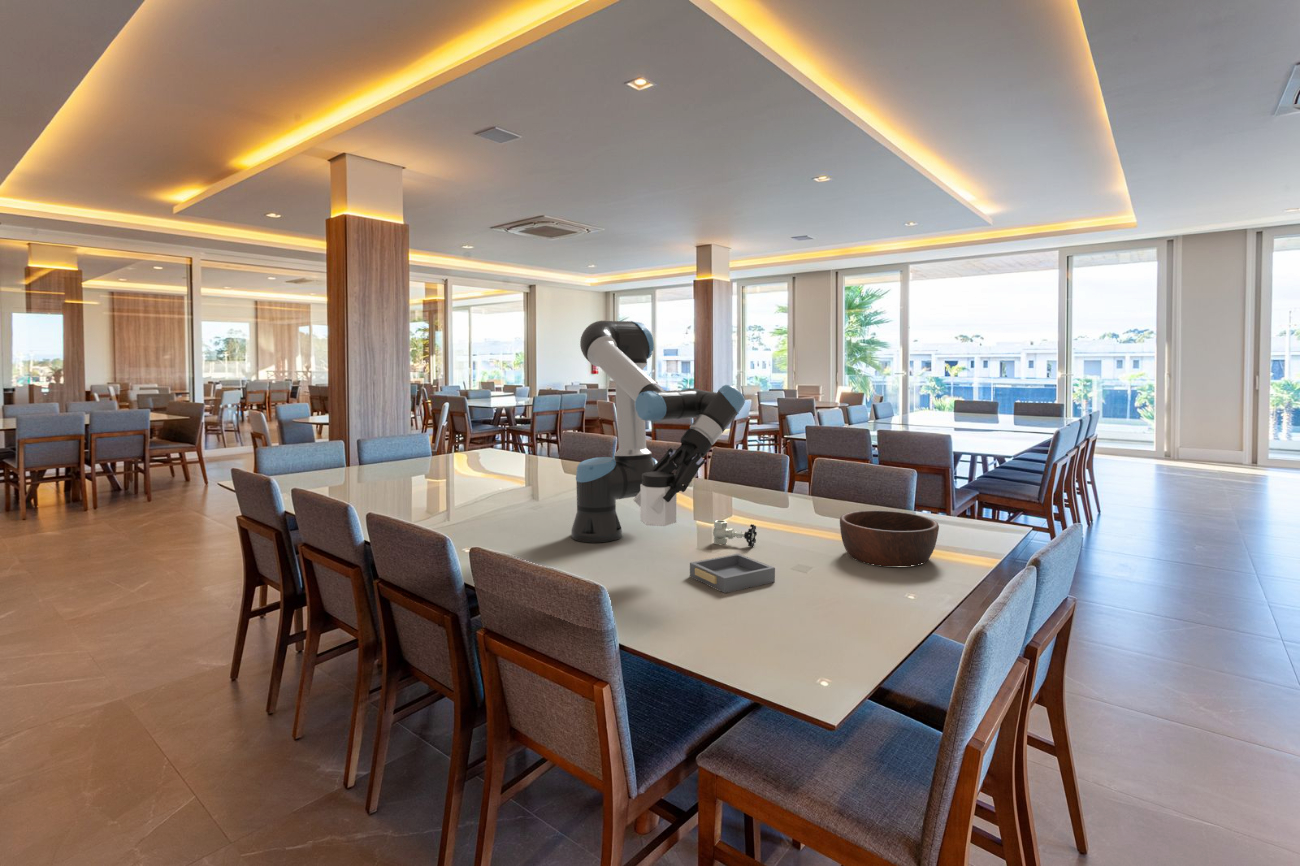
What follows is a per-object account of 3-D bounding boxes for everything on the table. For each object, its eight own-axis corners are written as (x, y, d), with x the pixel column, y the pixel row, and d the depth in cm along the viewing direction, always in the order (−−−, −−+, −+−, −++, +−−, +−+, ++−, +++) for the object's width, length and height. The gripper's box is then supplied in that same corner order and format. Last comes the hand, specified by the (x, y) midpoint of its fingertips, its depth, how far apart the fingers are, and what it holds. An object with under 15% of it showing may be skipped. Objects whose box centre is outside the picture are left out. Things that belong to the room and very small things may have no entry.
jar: (657, 516, 173) (657, 469, 172) (682, 521, 168) (682, 473, 167) (633, 522, 167) (633, 474, 165) (659, 528, 161) (659, 478, 160)
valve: (709, 545, 195) (750, 550, 190) (709, 523, 194) (751, 527, 189) (716, 540, 201) (756, 544, 196) (717, 518, 200) (757, 522, 195)
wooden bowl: (939, 550, 189) (940, 514, 188) (935, 577, 166) (937, 536, 165) (846, 541, 199) (847, 506, 198) (831, 564, 177) (832, 525, 176)
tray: (687, 576, 167) (687, 563, 166) (738, 566, 175) (738, 553, 174) (722, 593, 155) (722, 578, 154) (774, 581, 163) (775, 567, 162)
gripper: (734, 451, 165) (678, 525, 158) (686, 442, 182) (634, 508, 176) (716, 431, 162) (659, 505, 155) (669, 423, 179) (616, 490, 173)
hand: (646, 506), depth 166 cm, fingers closed on jar, 8 cm apart
